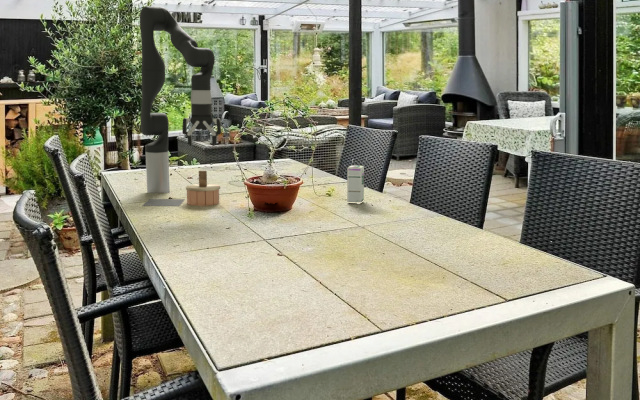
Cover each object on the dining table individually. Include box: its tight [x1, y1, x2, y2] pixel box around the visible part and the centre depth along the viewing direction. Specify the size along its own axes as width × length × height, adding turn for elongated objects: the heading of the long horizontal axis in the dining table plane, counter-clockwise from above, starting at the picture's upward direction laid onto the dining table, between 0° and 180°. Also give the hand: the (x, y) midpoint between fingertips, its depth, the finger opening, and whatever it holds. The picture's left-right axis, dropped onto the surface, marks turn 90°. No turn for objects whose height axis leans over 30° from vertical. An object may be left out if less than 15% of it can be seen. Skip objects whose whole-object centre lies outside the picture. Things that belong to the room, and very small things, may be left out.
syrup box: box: [346, 165, 365, 202], centre depth 252 cm, size 6×6×14 cm
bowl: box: [186, 189, 220, 207], centre depth 248 cm, size 12×12×6 cm
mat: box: [141, 198, 186, 207], centre depth 248 cm, size 14×14×1 cm
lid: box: [185, 169, 221, 191], centre depth 247 cm, size 13×13×7 cm
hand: (202, 145), depth 245 cm, fingers open, 8 cm apart
